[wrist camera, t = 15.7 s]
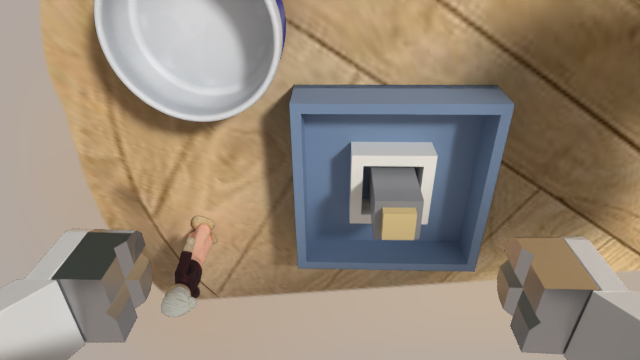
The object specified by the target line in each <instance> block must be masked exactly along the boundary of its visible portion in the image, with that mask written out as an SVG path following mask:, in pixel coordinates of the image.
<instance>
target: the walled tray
mask: <svg viewBox="0 0 640 360" xmlns="http://www.w3.org/2000/svg"><path fill="white" fill-rule="evenodd" d="M514 106H515V104H514V103H513V102H512V101H511V100H510V99H509V97H508V96H507V95H506V94H505V93H504V92H503V91H502V90H501V89H500V88H499V87H498V86H497V85H294V88H293V91H292V95H291V99H290V103H289V107H290V126H291V145H292V165H293V184H294V203H295V223H296V242H297V261H298V268H306V269H363V270H419V271H475V268H476V264H477V260H478V255H479V251H480V247H481V243H482V239H483V235H484V231H485V226H486V222H487V218H488V214H489V210H490V206H491V201H492V197H493V193H494V189H495V185H496V181H497V177H498V172H499V168H500V164H501V160H502V156H503V152H504V147H505V143H506V139H507V135H508V131H509V127H510V123H511V118H512V114H513V110H514ZM370 166H405V167H414V169H415V172H416V176H417V179H418V183H419V186H420V189H421V193H422V196H423V199H424V206H423V214H422V221H421V229H420V237H419V239H414V240H382V239H373V232H372V223H371V213H370V204H369V194H368V190H369V168H370Z"/></svg>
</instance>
